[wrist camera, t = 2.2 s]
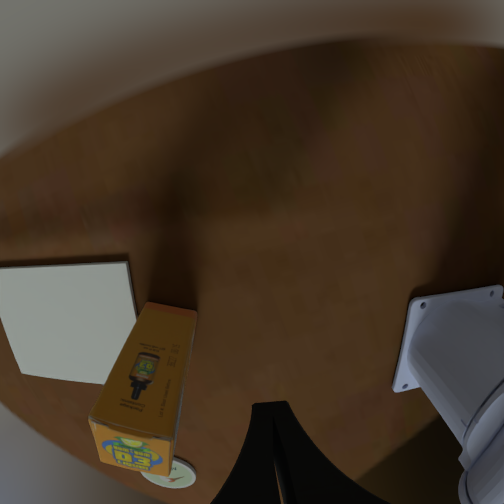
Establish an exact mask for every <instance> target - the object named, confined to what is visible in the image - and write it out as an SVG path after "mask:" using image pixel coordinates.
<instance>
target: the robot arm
mask: <svg viewBox="0 0 504 504" xmlns="http://www.w3.org/2000/svg"><path fill="white" fill-rule="evenodd" d="M490 292H491V293H490ZM502 294H503V287H502V286H501V285H494V286H488V287H482V288H476V289H470V290H464V291H458V292H451V293H444V294H438V295H431V296H423V297H416V298H414V299H412V300H411V302H410V304H409V308H408V314H407V320H406V326H405V331H404V336H403V341H402V346H401V351H400V356H399V360H398V365H397V369H396V373H395V377H394V381H393V385H392V389H393V390H394V392H401V391H405V390H409V389H413V388H417V387H421V388H422V389H423V391H424V392H425V394H426V395H427V396H428V398H429V399H430V401H431V402H432V403H433V405H434V406H435V408H436V409H437V410H438V412H439V413H440V415H441V416H442V417H443V419H444V420H445V422H446V423H447V424H448V426H449V427H450V429H451V430H452V432H453V433H454V435H455V436H456V438H457V439H458V441H459V442H460V444H461V445H462V447H463V452H462V454H461V455H460V457H459V461H460V462H461V464H462V466H463V467H464V469H465V471H464V472H463V474H462V476H461V479H460V482H459V498H460V502H461V504H504V299H502ZM423 302H424V304H423V305H422V306H421V307H420V305H421V304H422V303H423ZM404 384H405V385H404ZM403 385H404V386H403ZM274 463H275V465H274ZM275 467H276V472H277V476H278V480H279V484H280V488H281V493H282V497H283V502H284V504H391V503H389V502H387V501H384V500H383V499H381V498H379V497H377V496H375V495H374V494H372V493H370V492H369V491H367V490H365V489H364V488H362V487H361V486H359V485H358V484H357V483H355V482H354V481H353V480H351V479H350V478H349V477H347V476H346V475H345V474H344V473H343V472H341V471H340V470H339V469H338V468H337V467H336V466H335V465H334V464H333V463H331V462H330V461H329V460H328V459H327V458H326V456H325V455H324V454H323V453H322V452H321V451H320V450H319V449H318V447H317V446H316V445H315V444H314V443H313V441H312V440H311V439H310V438H309V436H308V435H307V433H306V432H305V431H304V429H303V428H302V426H301V425H300V423H299V422H298V420H297V418H296V417H295V415H294V413H293V412H292V410H291V408H290V405H289V403H288V402H287V401H276V402H263V403H254V404H253V405H252V414H251V420H250V425H249V429H248V432H247V435H246V438H245V441H244V444H243V447H242V449H241V452H240V454H239V457H238V459H237V461H236V463H235V465H234V467H233V469H232V471H231V473H230V475H229V477H228V478H227V480H226V482H225V483H224V485H223V486H222V488H221V490H220V491H219V493H218V494H217V495H216V497H215V498H214V499H213V501H212V502H211V503H210V504H281V501H280V495H279V490H278V484H277V478H276V472H275Z"/></svg>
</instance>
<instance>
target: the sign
mask: <svg viewBox="0 0 504 504" xmlns="http://www.w3.org/2000/svg"><path fill="white" fill-rule="evenodd" d="M103 386H104V384H103ZM141 473H142V475H143V476H144V477H145V478H147V479H148V480H149V481H151V482H153V483H155V484H157V485H160V486H164V487H169V488H184V487H187V486H190V485H191V484H193V483H194V482H195V479H196V472H195V470H194V468H193V467H192V466H191V465H190V464H188V463H187V462H185V461H183V460H181V459H178V458H175V457H173V463H172V468H171V473H170V475H169V477H166V476H160V475H155V474H150V473H145V472H141Z"/></svg>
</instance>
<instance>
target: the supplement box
mask: <svg viewBox="0 0 504 504" xmlns="http://www.w3.org/2000/svg"><path fill="white" fill-rule="evenodd" d="M197 315H198V314H197V312H196V311H194V310H189V309H183V308H178V307H173V306H168V305H162V304H158V303H153V302H146V303H145V305H144V307H143V309H142V311H141V313H140V315H139V317H138V319H137V321H136V323H135V325H134V326H133V328H132V330H131V332H130V334H129V336H128V338H127V340H126V342H125V344H124V346H123V348H122V349H121V351H120V354H119V356H118V357H117V360H116V361H115V363H114V366H113V368H112V370H111V371H110V373H109V375H108V378H107V380H106V382H105V384H104V386H103V388H102V390H101V392H100V394H99V396H98V398H97V400H96V402H95V404H94V406H93V408H92V410H91V412H90V414H89V416H88V420H89V424H90V427H91V430H92V433H93V435H94V438H95V442H96V446H97V449H98V453H99V457H100V460H101V461H102V462H104V463H108V464H112V465H115V466H120V467H123V468H127V469H132V470H136V471H141V472H145V473H150V474H155V475H160V476H166V477H169V475H170V473H171V468H172V463H173V457H174V451H175V444H176V437H177V431H178V425H179V419H180V413H181V407H182V401H183V396H184V391H185V386H186V379H187V374H188V369H189V363H190V357H191V351H192V346H193V340H194V335H195V329H196V323H197Z"/></svg>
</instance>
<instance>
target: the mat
mask: <svg viewBox="0 0 504 504" xmlns="http://www.w3.org/2000/svg"><path fill="white" fill-rule="evenodd" d="M0 317H1V320H2V323H3V326H4V329H5V332H6V335H7V337H8V340H9V343H10V345H11V348H12V351H13V353H14V356H15V358H16V361H17V363H18V365H19V368H20V370H21V372H22V373H23V374H29V375H35V376H41V377H48V378H55V379H62V380H70V381H78V382H87V383H98V384H105V382H106V380H107V378H108V375H109V373H110V371H111V370H112V368H113V366H114V363H115V361H116V360H117V357H118V356H119V354H120V351H121V349H122V348H123V346H124V344H125V342H126V340H127V338H128V336H129V334H130V332H131V330H132V328H133V326H134V325H135V323H136V321H137V319H138V315H137V310H136V305H135V300H134V294H133V289H132V283H131V277H130V271H129V265H128V261H122V262H102V263H82V264H62V265H41V266H21V267H0Z"/></svg>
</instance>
